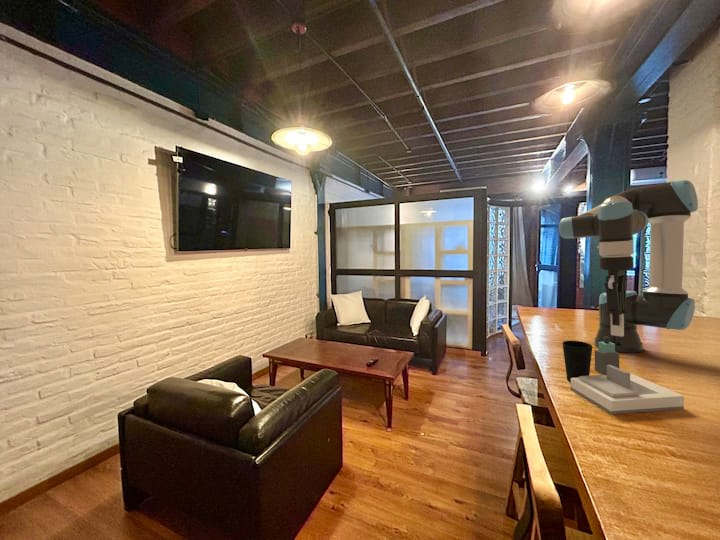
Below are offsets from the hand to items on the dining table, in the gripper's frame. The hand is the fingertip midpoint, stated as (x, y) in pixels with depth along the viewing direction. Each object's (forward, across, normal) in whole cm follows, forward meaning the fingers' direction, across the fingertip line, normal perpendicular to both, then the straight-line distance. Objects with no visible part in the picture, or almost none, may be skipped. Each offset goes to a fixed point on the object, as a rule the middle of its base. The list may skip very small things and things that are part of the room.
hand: (617, 335), depth 87 cm
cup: (+16, +3, -9) cm, 19 cm away
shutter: (+12, +10, 0) cm, 16 cm away
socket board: (+16, +7, +2) cm, 18 cm away
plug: (+16, -11, -5) cm, 21 cm away
